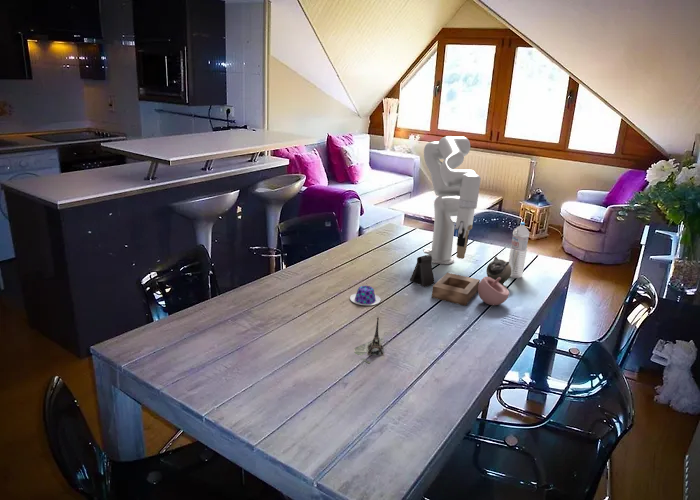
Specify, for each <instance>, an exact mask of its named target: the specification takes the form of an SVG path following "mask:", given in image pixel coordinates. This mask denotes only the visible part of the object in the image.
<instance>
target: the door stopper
mask: <svg viewBox="0 0 700 500" xmlns="http://www.w3.org/2000/svg"><path fill="white" fill-rule="evenodd" d="M428 255H429V254H426V255H421V256H418V257H417V258H416V264H415V266H414V268H413V272H412V273H411V275H410V278H409V281H410V282H412V283H414V284H416V285H419V286H421V287H423V288H427V287H429V286H433V285H434V284H435V283H436V282H435V277H434V270H433V262H431V261H432V257H431V255H429V256H428Z"/></svg>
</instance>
